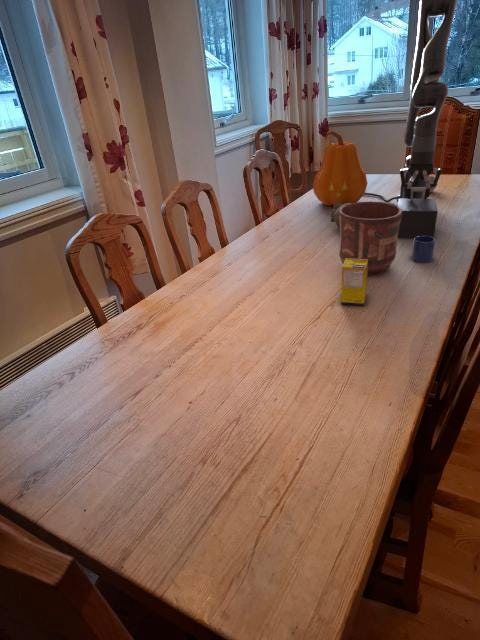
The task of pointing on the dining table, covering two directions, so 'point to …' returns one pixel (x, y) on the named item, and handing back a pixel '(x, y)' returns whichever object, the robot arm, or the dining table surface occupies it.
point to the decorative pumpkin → (340, 174)
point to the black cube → (417, 225)
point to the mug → (431, 182)
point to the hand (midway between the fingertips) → (417, 198)
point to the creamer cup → (423, 249)
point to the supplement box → (354, 281)
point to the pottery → (370, 233)
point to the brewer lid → (418, 203)
